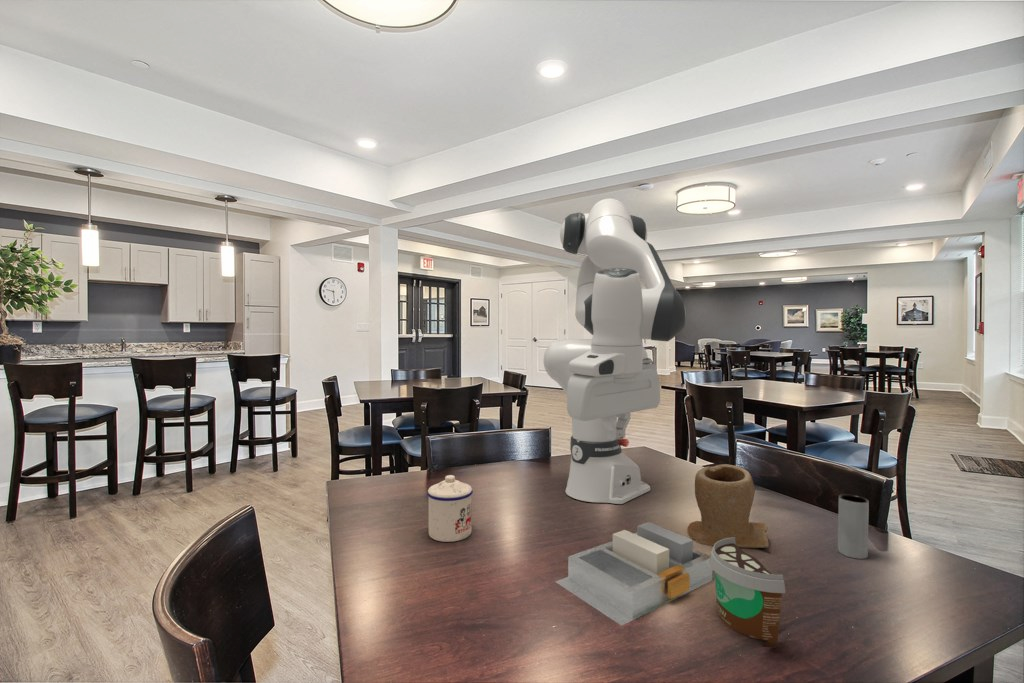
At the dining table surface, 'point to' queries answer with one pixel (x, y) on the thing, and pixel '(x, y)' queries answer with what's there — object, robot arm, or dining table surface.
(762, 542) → the stone cup
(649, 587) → the rack
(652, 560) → the beige rectangular block
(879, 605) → the dining table surface
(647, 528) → the gray rectangular block
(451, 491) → the teacup with lid
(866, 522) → the grey hollow cylinder
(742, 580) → the food container
